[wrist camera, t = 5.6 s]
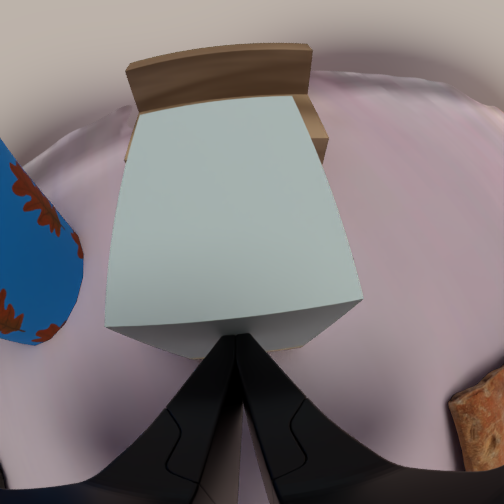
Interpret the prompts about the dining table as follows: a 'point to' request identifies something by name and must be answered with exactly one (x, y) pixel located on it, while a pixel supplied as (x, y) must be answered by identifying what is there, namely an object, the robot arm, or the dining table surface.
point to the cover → (227, 231)
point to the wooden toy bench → (227, 80)
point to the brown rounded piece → (481, 422)
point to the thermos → (34, 259)
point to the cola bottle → (1, 481)
